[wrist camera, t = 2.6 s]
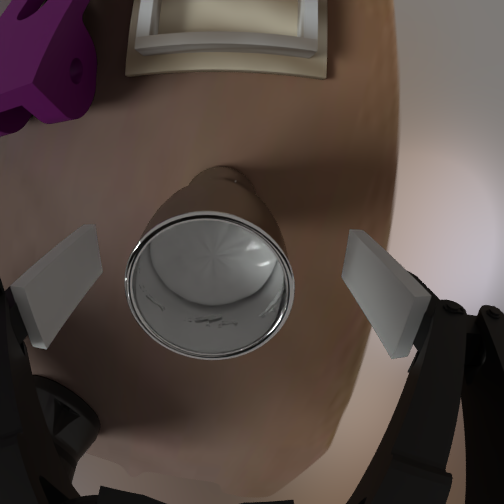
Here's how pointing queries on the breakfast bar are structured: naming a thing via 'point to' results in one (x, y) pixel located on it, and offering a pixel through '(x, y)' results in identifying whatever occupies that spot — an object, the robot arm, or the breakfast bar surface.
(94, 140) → the breakfast bar surface
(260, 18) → the cup holder
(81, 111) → the mounting bracket
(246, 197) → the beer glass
